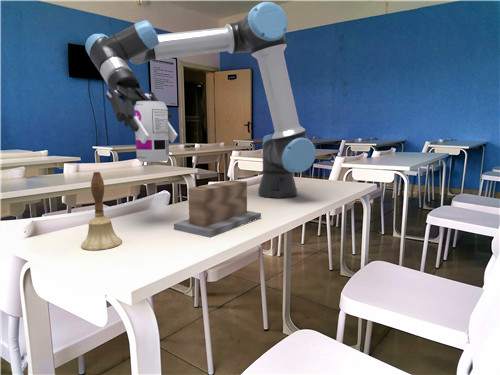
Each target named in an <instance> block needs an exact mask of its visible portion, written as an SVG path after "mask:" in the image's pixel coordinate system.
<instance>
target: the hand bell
mask: <svg viewBox="0 0 500 375" xmlns="http://www.w3.org/2000/svg"><path fill="white" fill-rule="evenodd" d="M104 183H105V182H104V180H103V176H102V175H101V172H100V171H94V172H93V175H92V178H91V182H90V189H91V194H92V198H93V201H94V210H95V211H94V213H95V214H94V218H92V219H91V220H90V221H89V222H88V231H87V235H86V237H85V239H84V240H83V241H82V243H81V245H80V248H81V249H82V250H86V251H101V250H108V249H112V248H115V247H118V246H120V245H121V244H122V243H123V241H122V238H120V237H119V236H118V235H117V234H116V232H115V231H114V228H113V225H112V220H111V218H108V217H105V214H104V205H103V204H104V203H103V202H104V201H103V198H104V194H105V184H104Z"/></svg>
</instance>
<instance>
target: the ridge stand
mask: <svg viewBox="0 0 500 375" xmlns="http://www.w3.org/2000/svg"><path fill="white" fill-rule="evenodd" d="M247 183H248V182H247V180H246V181H245V180H244V181H243V180H235V179H231V180H226V181H221V182H216V183H210V184H206V185H199V186H195V187H190V188H189V187H188V188H187V189H188V191H187V192H188V215H189V216H188V219H185V220H182V221H177V222H175V223H173V230H176V231H180V232H184V233H185V232H186V233H188V234H193V235H198V236H203V237H208V238H212V237H214V236H218V235H220V234H223V233H225V232H228V231H231V230H233V228H234V229H236V228H238V226H239V227H241V226H240V225H242V224H244V225H246V224H245V223H247V224H249V223H248V222H250V221H252V222H254V221H253V220H255V219H258V218H260V217H261V218H262V213H261V212H258V211H257V212H256V211H250V210H248V184H247ZM261 218H260V219H261ZM258 220H259V219H258ZM255 221H256V220H255ZM250 223H251V222H250ZM242 226H243V225H242ZM235 227H236V228H235Z"/></svg>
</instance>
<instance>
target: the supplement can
mask: <svg viewBox="0 0 500 375" xmlns="http://www.w3.org/2000/svg"><path fill="white" fill-rule="evenodd" d="M168 112H169V110H168V107H167V105H166V103H165V101H160V100H158V101H144V100H143V101H136V105H134V107H133V117H137V118H138V119H139V121H140V122H141V124H142V125H143V127H144V128H145V130H146V131H147V133H148V134H149V137H148V139H147V140H146V142H145V143H142V142H141V141H140V139H139V138H138V136H137V134H136V133H135V132H134V134H135V135H134V136H135V145H136V146H135V147H136V148H135V150H136V153H135V154H136V159H137V160H138V161H139V162H141V163H161V162H162V163H163V162H168V160H169V159H170V140H169V137H168Z"/></svg>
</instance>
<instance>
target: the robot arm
mask: <svg viewBox="0 0 500 375" xmlns="http://www.w3.org/2000/svg"><path fill="white" fill-rule="evenodd" d="M288 24H289V23H288V17H287V14H286V13H285V11H284V10H283V8H282V7H281V6H280V5H278V4H277V3H275V2H273V1H272V2H271V1H263V2H260V3H258V4H257V5H255V6H253V7H252V8H251V9H250V10H249V12H248V13H247V14H246V15H245V16H244V17H243V18H242V19H240V20H238V21H236V22H232V23H231V22H230V23H226V24H225V26H224V27H215V28H207V29H197V30H196V29H195V30H188V31H179V32H171V33H169V32H168V33H161V34H157V32H156V30H155V28H154V27H153V25H152V23H151V22H150V21H149V20H146V19H145V20H144V19H143V20H142V21H139V22H135V23H134V24H132V25H131V26H129V27H127V28H124V29H123V30H120V31H119V32H118V33H115V34H113V35H110V36H107V35H106V34H104V33H93V34H91V35H90V36H89V37H88V38H87V40H86V42H85V51H86V53H87V54H88V56H89V58H90V60H91V62H92V63H93V64H94V67H95V68H96V69H97V70H98V72H99V73H100V75H101V77H102V78H103V80H104V82H105V83H106V84H107V86H108V89H107V91H106V94H105V97H106V99H108V101H109V102H110V105H111V108H112V110H113V112H114V115H115V118H116V120H117V122H120V123H121V122H123V125H124V126H126V127H129V128H130V130H131V131H132V132H134V134H135V133H136V134H137V136H138V138H139V139H140V141H141V142H142V143H145V142H146V140H147V139H148V137H149V134H148V133H147V131H146V130H145V128H144V127H143V125H142V124H141V122H140V121H139V119H138V118H137V117H135V116H134V107H133V106H135V105H136V101H159V99H158V98H157V97H156V95H155V93H154V92H152V91H150V92H148V93H145V91H144V90H143V89H141V86H140V81H139V79H138V78H137V77H136V75H135V74H134V72H133V71H132V69H131V67H129V65H128V64H127V62H130V63H131V64H134V65H142V64H144V63H146V62H153V61H156V60H157V61H158V60H165V59H166V60H167V59H175V58H182V57H189V56H198V55H205V54H206V55H207V54H212V53H213V54H214V53H223V52H228V53H229V54H240V53H250V54H251V55H250V56H252V57H253V58H255V59H256V60H257V63H258V68H259V72H260V75H261V76H260V77H261V79H262V83H263V88H264V92H265V95H266V100H267V104H268V108H269V109H268V110H269V112H270V113H269V114H270V117H271V121H272V125H273V129H274V132H273V134H272V133H271V134H267V135H264V136H263V137H262V138H263V139H262V144H261V146H262V177H261V179H260V183H259V186H258V187H257V188H258V189H257V195H258V194H259V195H261V196H260V197H263V196H265V197H264V198H269V197H288V198H292V197H291V196H294V197H296V196H295V195H297V196H298V188H297V186H296V182H295V178H294V173H302V172H306V171H307V170H308V169H310V168H311V167H312V165H313V163H314V162H315V159H316V147H315V145H314V143H313V142H312V141H311V140H310V139H309V138H308V137H307V136H308V135H307V132H306V128H304V127H303V126H301V124H300V121H299V120H300V119H299V117H298V112H297V108H296V102H295V99H294V94H293V89H292V86H291V81H290V76H289V72H288V68H287V64H286V62H287V61H286V58H285V54H284V51H285V49H286V48H287V41H286V36H285V34H286V32H287V30H288ZM171 119H172V114H171V113H170V112H169V111H168V137H169V143H174V142H175V140H176V138H177V137H178V133H177V132H176V130H175V129H174V127H173V125H172V123H171V122H170V120H171ZM259 195H258V196H259Z"/></svg>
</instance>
